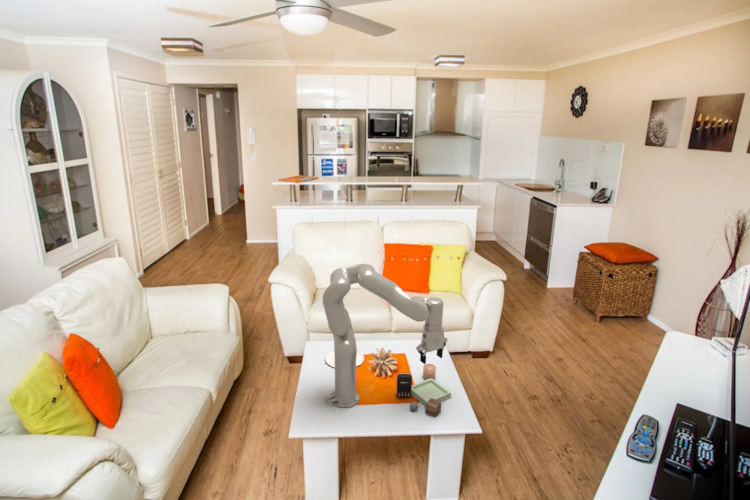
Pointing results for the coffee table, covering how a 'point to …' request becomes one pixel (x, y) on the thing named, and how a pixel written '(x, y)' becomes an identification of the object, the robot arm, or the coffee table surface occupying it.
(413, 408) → the ball
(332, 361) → the plate
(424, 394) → the tray
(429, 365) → the beige round piece
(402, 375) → the battery
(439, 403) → the block
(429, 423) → the coffee table surface
